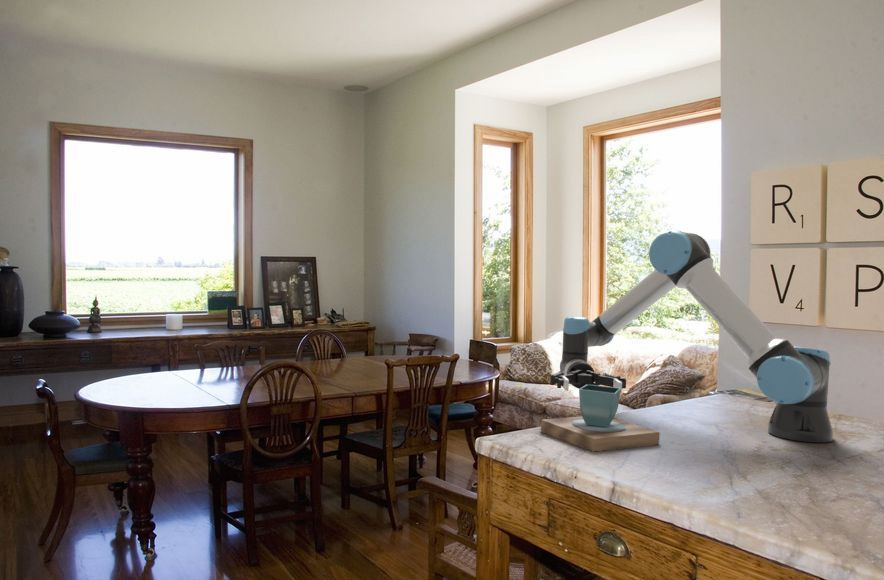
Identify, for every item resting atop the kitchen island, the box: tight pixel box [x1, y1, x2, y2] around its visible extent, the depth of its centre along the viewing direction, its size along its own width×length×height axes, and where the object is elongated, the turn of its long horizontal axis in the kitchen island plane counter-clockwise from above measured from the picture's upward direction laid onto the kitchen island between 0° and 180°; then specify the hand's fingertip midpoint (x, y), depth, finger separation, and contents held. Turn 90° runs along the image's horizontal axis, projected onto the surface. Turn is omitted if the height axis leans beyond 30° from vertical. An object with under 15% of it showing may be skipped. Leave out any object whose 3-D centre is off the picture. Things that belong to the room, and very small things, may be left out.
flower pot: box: [578, 385, 622, 427], centre depth 170 cm, size 9×9×9 cm
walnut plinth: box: [540, 415, 661, 452], centre depth 170 cm, size 20×20×3 cm
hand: (593, 386), depth 178 cm, fingers open, 13 cm apart
